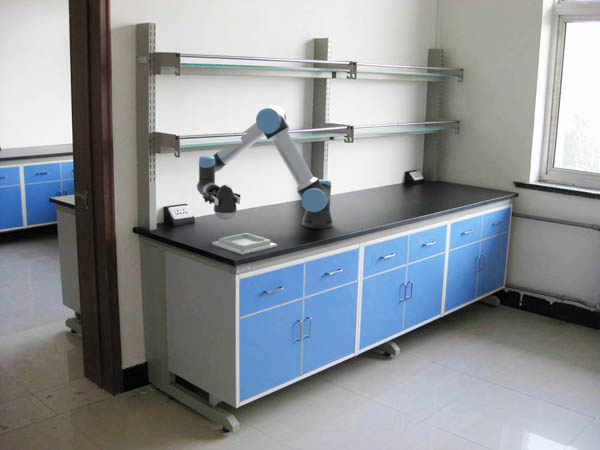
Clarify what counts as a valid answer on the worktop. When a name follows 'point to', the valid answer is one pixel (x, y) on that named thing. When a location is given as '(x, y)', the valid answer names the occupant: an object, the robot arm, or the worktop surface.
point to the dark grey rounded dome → (225, 203)
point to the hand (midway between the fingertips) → (228, 201)
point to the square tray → (244, 243)
